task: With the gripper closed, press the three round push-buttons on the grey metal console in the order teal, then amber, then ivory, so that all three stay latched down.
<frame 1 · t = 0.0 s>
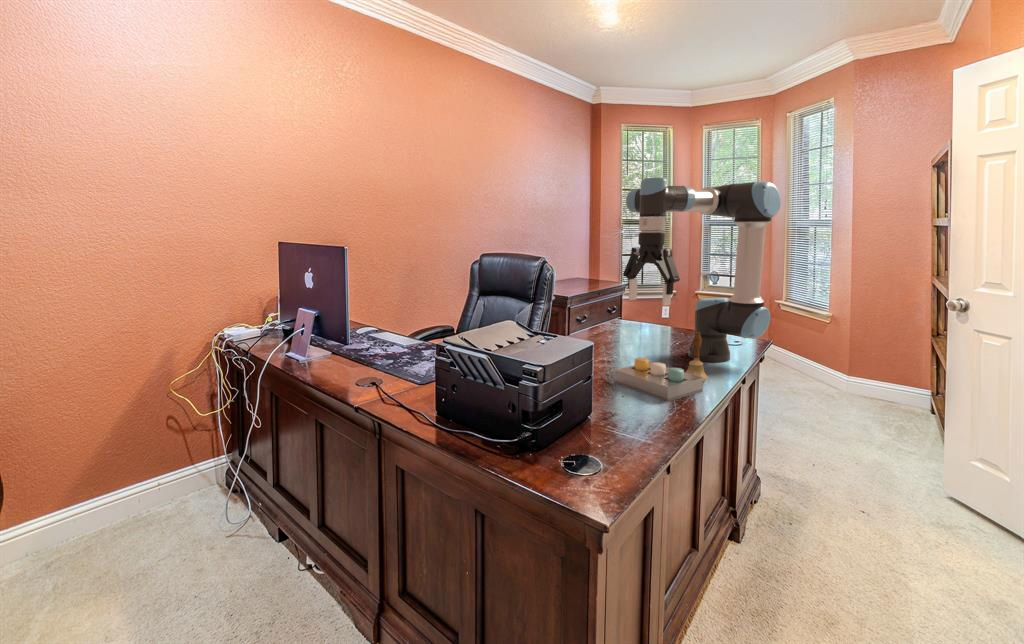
hand: (649, 302, 155), 28 cm above the table, tool pointing down, fingers open, 13 cm apart
ivory button: (658, 371, 162), point 5 cm above the table, slide at 0.0 cm
hand bell: (695, 378, 172), on the table
teal button: (675, 376, 156), point 5 cm above the table, slide at 0.0 cm
amber button: (641, 366, 168), point 5 cm above the table, slide at 0.0 cm
console: (657, 387, 163), on the table
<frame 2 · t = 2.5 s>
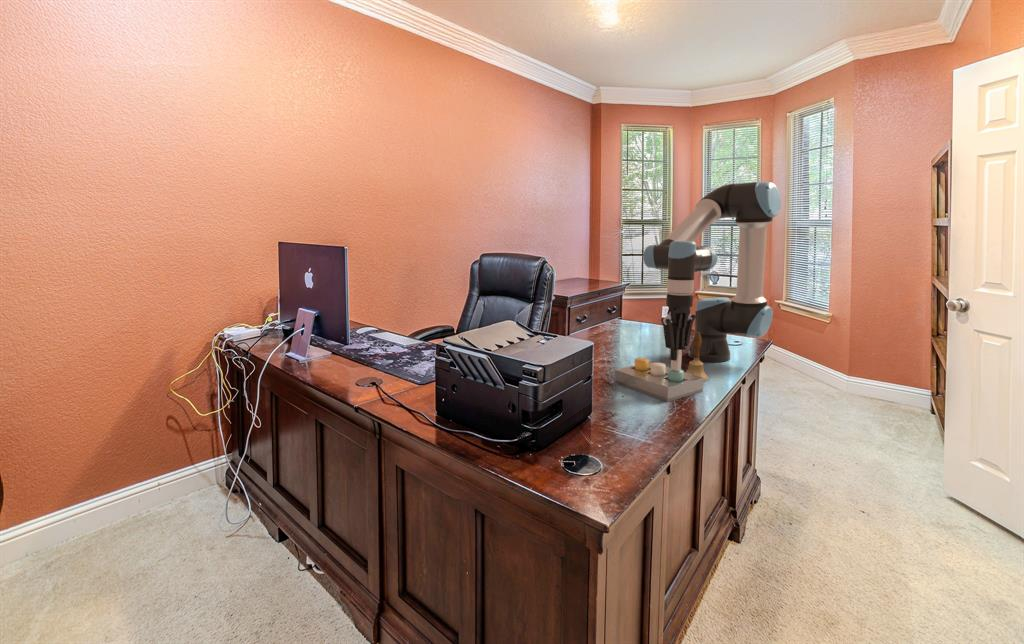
hand: (675, 369, 155), 8 cm above the table, tool pointing down, fingers closed
teal button: (675, 377, 156), point 5 cm above the table, slide at -0.2 cm, touching gripper
everything else where it was.
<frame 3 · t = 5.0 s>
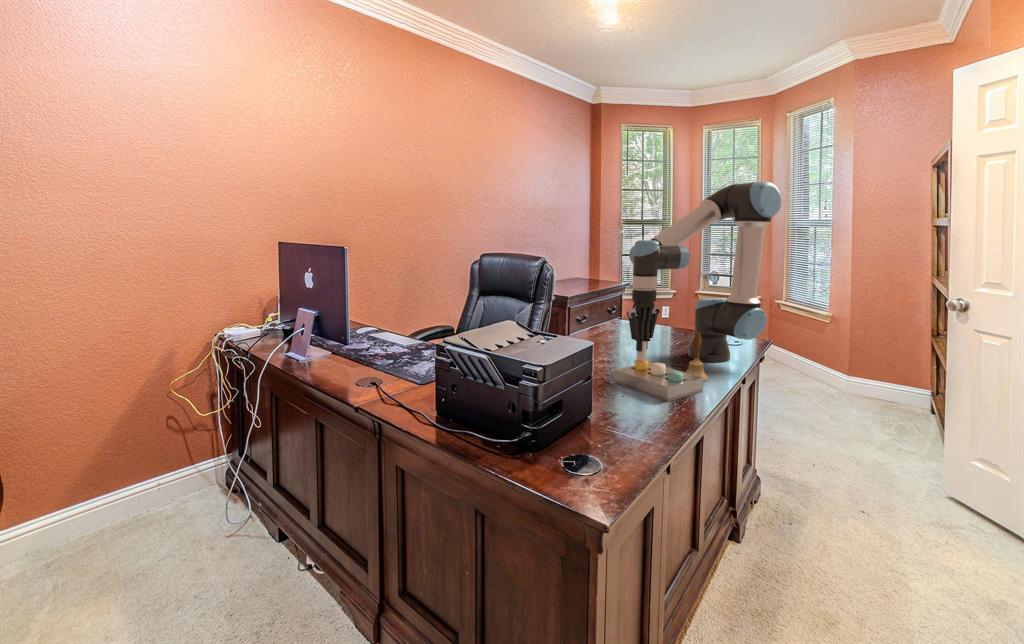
hand: (641, 360, 167), 7 cm above the table, tool pointing down, fingers closed
teal button: (675, 380, 156), point 4 cm above the table, slide at -1.0 cm
amber button: (641, 367, 168), point 5 cm above the table, slide at -0.4 cm, touching gripper
everything else where it was.
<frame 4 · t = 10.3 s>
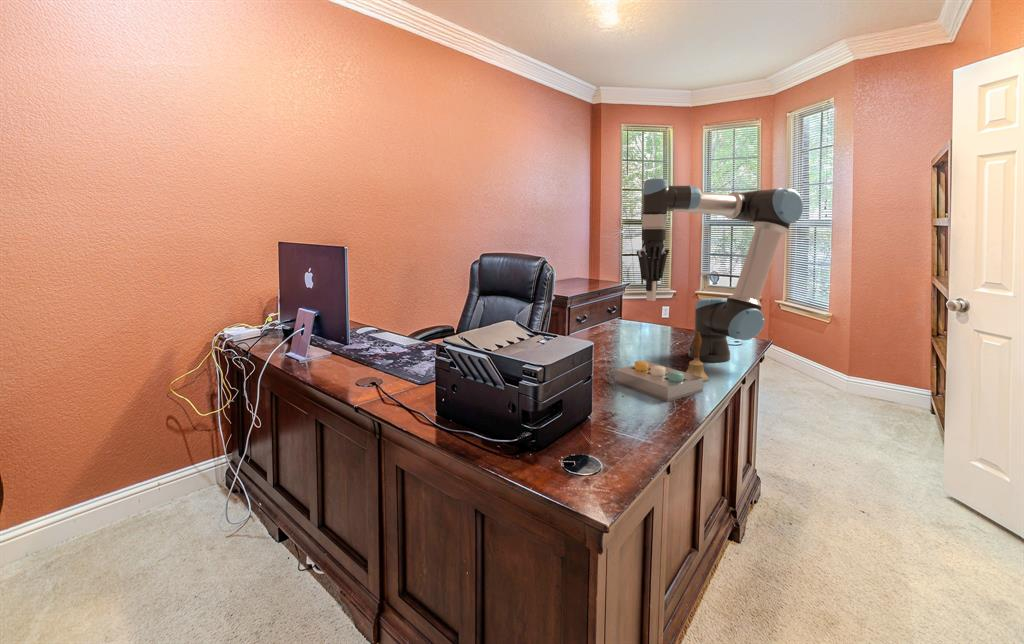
hand: (651, 300, 169), 26 cm above the table, tool pointing down, fingers closed
ivory button: (657, 374, 162), point 4 cm above the table, slide at -1.0 cm
amber button: (641, 369, 168), point 4 cm above the table, slide at -1.0 cm
everything else where it was.
at the end: teal button slide at -1.0 cm; amber button slide at -1.0 cm; ivory button slide at -1.0 cm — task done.
